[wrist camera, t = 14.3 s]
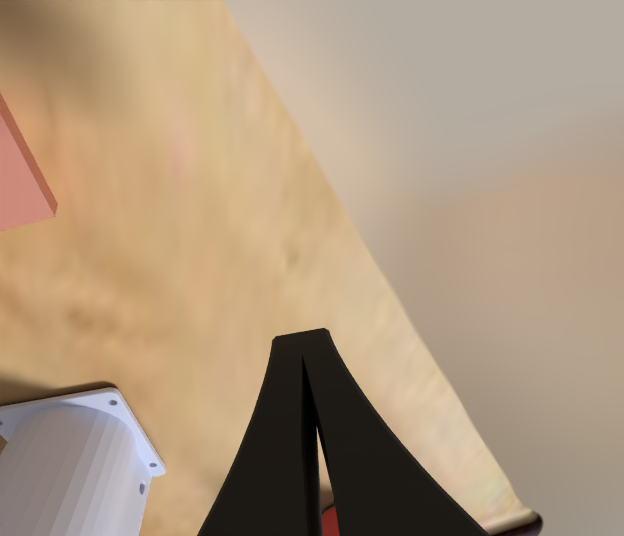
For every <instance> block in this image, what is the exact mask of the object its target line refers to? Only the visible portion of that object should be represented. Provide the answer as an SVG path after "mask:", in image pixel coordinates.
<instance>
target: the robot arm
mask: <svg viewBox="0 0 624 536" xmlns="http://www.w3.org/2000/svg"><path fill="white" fill-rule="evenodd" d="M316 425H317V426H316ZM317 429H318V433H319V438H320V442H321V446H322V450H323V454H324V458H325V462H326V466H327V471H328V475H329V479H330V483H331V487H332V491H333V495H334V502H335V508H336V515H337V522H338V528H339V535H340V536H490V535H489V534H488V533H487V532H486V531H485V530H484V529H483V528H482V527H481V526H480V525H479V524H478V523H477V522H476V521H475V520H474V519H473V518H472V517H471V516H470V515H469V514H468V513H467V512H466V511H465V510H464V509H463V508H462V507H461V506H460V505H459V504H458V503H457V502H456V501H455V500H454V499H453V498H452V497H451V496H450V495H449V494H448V493H447V492H446V491H445V490H444V489H443V488H442V487H441V486H440V485H439V484H438V483H437V482H436V481H435V480H434V479H433V478H432V477H431V475H430V474H429V473H428V472H427V471H426V470H425V469H424V468H423V467H422V466H421V465H420V464H419V462H418V461H417V460H416V459H415V458H414V457H413V456H412V454H411V453H410V452H409V451H408V450H407V449H406V448H405V446H404V445H403V444H402V443H401V442H400V440H399V439H398V438H397V437H396V436H395V434H394V433H393V432H392V431H391V429H390V428H389V427H388V426H387V424H386V423H385V422H384V420H383V419H382V418H381V416H380V415H379V414H378V413H377V411H376V410H375V409H374V407H373V406H372V404H371V403H370V402H369V400H368V399H367V397H366V396H365V394H364V393H363V392H362V390H361V389H360V387H359V386H358V384H357V383H356V381H355V380H354V378H353V377H352V375H351V373H350V372H349V370H348V369H347V367H346V365H345V363H344V362H343V360H342V358H341V356H340V355H339V353H338V351H337V349H336V347H335V345H334V343H333V340H332V338H331V335H330V332H329V330H327V329H325V328H321V329H315V330H309V331H304V332H298V333H292V334H286V335H281V336H276V337H275V338H274V339H273V340H272V347H271V352H270V358H269V362H268V366H267V370H266V374H265V377H264V381H263V384H262V387H261V390H260V393H259V396H258V400H257V403H256V406H255V409H254V412H253V414H252V417H251V420H250V422H249V425H248V427H247V430H246V433H245V435H244V438H243V440H242V443H241V445H240V448H239V450H238V453H237V455H236V457H235V460H234V462H233V464H232V466H231V469H230V471H229V473H228V475H227V477H226V479H225V482H224V484H223V486H222V488H221V490H220V492H219V494H218V496H217V498H216V500H215V502H214V504H213V506H212V508H211V510H210V512H209V514H208V516H207V517H206V519H205V521H204V523H203V525H202V527H201V529H200V531H199V533H198V535H197V536H323V527H322V515H321V497H320V479H319V461H318V443H317ZM0 435H1V436H2V437H3V438H4V439H5V440H6V441H7V442H8V443H7V444H6V446H5V448H4V449H3V451H2V453H1V454H0V536H139V531H140V527H141V523H142V518H143V514H144V510H145V505H146V501H147V497H148V492H149V488H150V484H151V479H152V477H157V476H161V475H163V474H164V473H165V470H166V467H165V465H164V463H163V462H162V460H161V459H160V457H159V455H158V454H157V452H156V450H155V449H154V447H153V445H152V444H151V442H150V441H149V439H148V437H147V436H146V434H145V432H144V431H143V429H142V427H141V426H140V424H139V423H138V421H137V419H136V418H135V416H134V414H133V413H132V411H131V410H130V408H129V406H128V405H127V403H126V401H125V400H124V398H123V396H122V395H121V393H120V392H119V391H118V389H116V388H112V387H108V388H103V389H97V390H92V391H86V392H80V393H75V394H69V395H63V396H58V397H52V398H46V399H41V400H35V401H29V402H24V403H18V404H13V405H7V406H1V407H0Z"/></svg>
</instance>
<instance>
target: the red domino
mask: <svg viewBox="0 0 624 536" xmlns="http://www.w3.org/2000/svg"><path fill="white" fill-rule="evenodd" d="M57 205H58V204H57V202H56V200H55V198H54V196H53V194H52V192H51V190H50V189H49V187H48V185H47V183H46V181H45V179H44V177H43V175H42V173H41V171H40V169H39V167H38V165H37V163H36V161H35V159H34V157H33V155H32V154H31V152H30V150H29V148H28V146H27V144H26V142H25V140H24V138H23V136H22V134H21V132H20V130H19V128H18V126H17V124H16V122H15V121H14V119H13V117H12V115H11V113H10V111H9V109H8V107H7V105H6V103H5V101H4V99H3V97H2V95H1V93H0V231H2V230H6V229H10V228H14V227H17V226H21V225H25V224H29V223H33V222H37V221H40V220H44V219H48V218H52V217H55V214H56V209H57Z"/></svg>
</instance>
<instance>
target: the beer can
mask: <svg viewBox="0 0 624 536" xmlns="http://www.w3.org/2000/svg"><path fill="white" fill-rule="evenodd" d="M322 527H323V536H340V535H339V528H338V522H337V515H336V508H335V505H333V506H332V507H330V508H328V509H327V510H326V511H325V512H324V513H323V514H322Z"/></svg>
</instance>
